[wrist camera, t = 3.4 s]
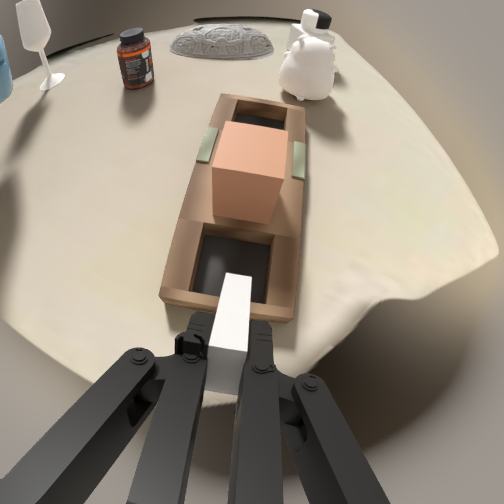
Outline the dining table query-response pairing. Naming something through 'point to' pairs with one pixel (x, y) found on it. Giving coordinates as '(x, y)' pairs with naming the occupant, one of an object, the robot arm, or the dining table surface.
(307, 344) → the dining table surface
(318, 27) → the medicine bottle
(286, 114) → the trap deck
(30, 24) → the champagne flute
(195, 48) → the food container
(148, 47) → the supplement bottle
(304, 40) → the figurine
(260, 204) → the block
